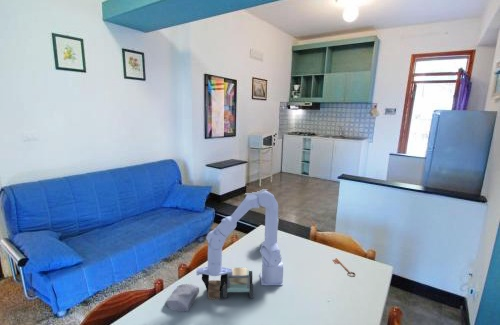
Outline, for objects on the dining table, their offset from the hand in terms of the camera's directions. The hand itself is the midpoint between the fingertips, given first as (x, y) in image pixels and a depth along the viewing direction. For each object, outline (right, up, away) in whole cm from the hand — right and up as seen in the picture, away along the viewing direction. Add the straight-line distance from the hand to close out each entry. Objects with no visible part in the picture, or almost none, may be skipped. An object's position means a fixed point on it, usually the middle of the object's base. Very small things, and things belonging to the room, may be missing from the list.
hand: (214, 289), depth 106 cm
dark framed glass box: (+10, -1, +4) cm, 11 cm away
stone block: (-12, -3, -3) cm, 13 cm away
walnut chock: (0, -2, +1) cm, 2 cm away
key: (+60, 0, +21) cm, 64 cm away
